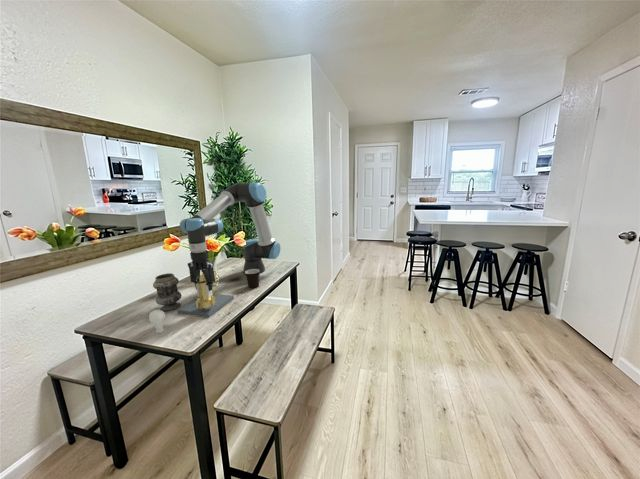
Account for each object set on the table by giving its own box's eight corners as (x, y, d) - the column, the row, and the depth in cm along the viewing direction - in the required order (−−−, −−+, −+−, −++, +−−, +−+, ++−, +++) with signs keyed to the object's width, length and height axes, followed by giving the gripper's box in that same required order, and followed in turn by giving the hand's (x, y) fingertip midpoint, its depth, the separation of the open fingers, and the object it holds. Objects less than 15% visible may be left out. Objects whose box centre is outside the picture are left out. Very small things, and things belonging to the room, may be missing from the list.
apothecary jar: (174, 300, 154) (168, 270, 150) (187, 304, 148) (182, 273, 144) (152, 310, 144) (146, 278, 139) (166, 315, 138) (160, 281, 134)
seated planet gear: (205, 292, 159) (202, 272, 156) (218, 293, 156) (215, 273, 153) (193, 299, 150) (190, 278, 147) (207, 300, 148) (204, 279, 145)
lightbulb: (153, 338, 118) (148, 315, 115) (151, 332, 123) (147, 310, 120) (168, 333, 121) (164, 310, 119) (166, 327, 126) (162, 305, 124)
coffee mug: (257, 289, 164) (255, 274, 162) (244, 289, 166) (242, 273, 164) (264, 282, 175) (263, 267, 173) (252, 281, 177) (250, 267, 175)
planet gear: (204, 299, 143) (201, 278, 140) (219, 301, 140) (216, 279, 138) (192, 307, 135) (188, 284, 132) (207, 309, 132) (204, 286, 129)
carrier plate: (205, 295, 159) (203, 281, 157) (234, 298, 153) (232, 284, 151) (177, 313, 139) (174, 297, 137) (209, 317, 134) (206, 300, 132)
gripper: (177, 252, 130) (184, 297, 136) (209, 253, 125) (215, 300, 130) (188, 248, 137) (195, 291, 143) (219, 249, 132) (225, 294, 137)
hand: (205, 295), depth 137 cm, fingers closed on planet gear, 5 cm apart
